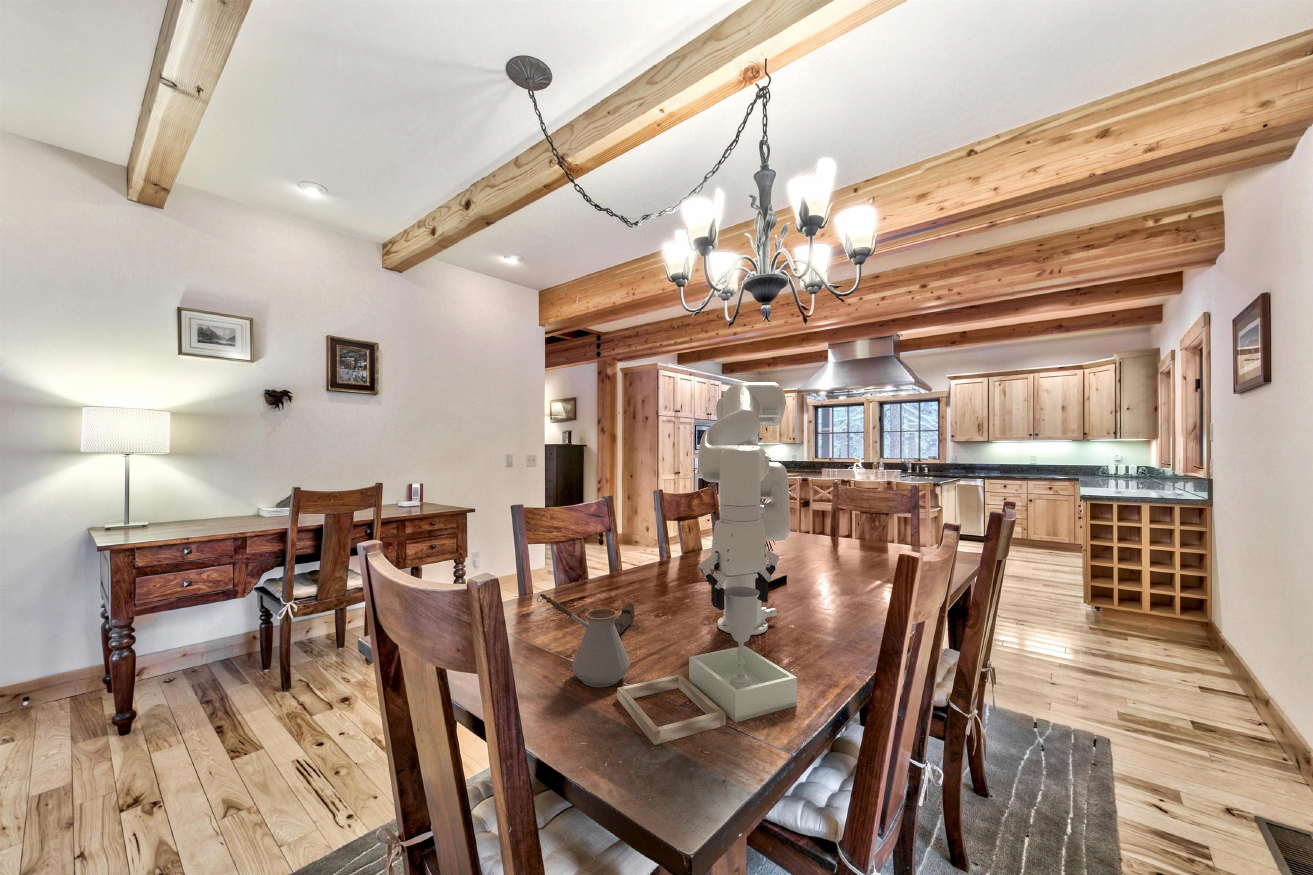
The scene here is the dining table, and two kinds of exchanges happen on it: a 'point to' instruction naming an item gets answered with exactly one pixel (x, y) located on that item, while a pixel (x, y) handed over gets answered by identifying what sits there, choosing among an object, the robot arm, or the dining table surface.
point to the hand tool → (625, 618)
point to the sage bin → (763, 697)
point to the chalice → (741, 625)
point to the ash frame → (673, 730)
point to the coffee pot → (598, 648)
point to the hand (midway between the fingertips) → (740, 604)
